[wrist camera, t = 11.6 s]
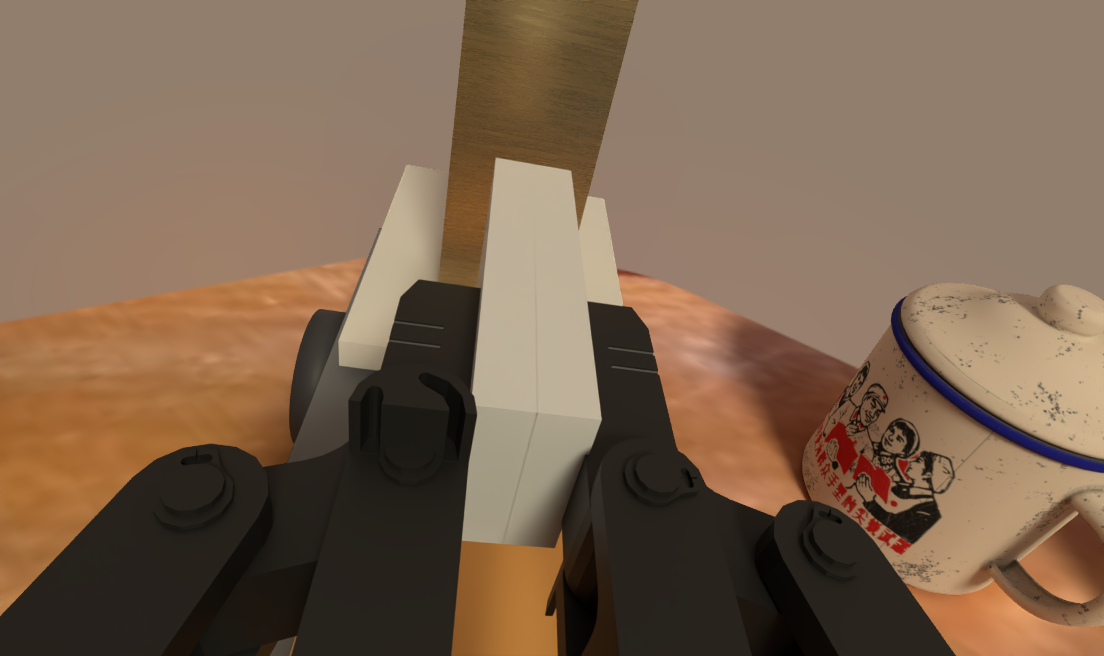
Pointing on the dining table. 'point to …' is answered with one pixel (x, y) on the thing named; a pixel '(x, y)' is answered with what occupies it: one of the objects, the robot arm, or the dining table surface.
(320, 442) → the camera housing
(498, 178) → the robot arm
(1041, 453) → the teacup with lid
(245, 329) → the dining table surface
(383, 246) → the sliding cover
